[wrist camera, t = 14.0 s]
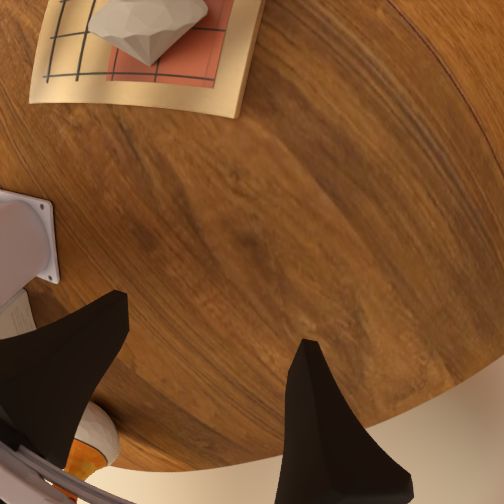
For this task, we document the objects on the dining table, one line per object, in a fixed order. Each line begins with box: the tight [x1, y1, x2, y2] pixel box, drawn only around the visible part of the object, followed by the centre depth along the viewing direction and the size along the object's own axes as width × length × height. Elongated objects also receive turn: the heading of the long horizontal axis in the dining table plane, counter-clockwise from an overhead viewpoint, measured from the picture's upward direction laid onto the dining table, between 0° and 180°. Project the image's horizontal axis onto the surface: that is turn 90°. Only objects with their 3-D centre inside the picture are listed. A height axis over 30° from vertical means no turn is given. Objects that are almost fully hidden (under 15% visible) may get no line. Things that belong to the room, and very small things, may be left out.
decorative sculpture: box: [0, 401, 120, 504], centre depth 21 cm, size 20×8×30 cm, turn 178°
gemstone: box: [88, 0, 208, 67], centre depth 12 cm, size 6×6×5 cm
